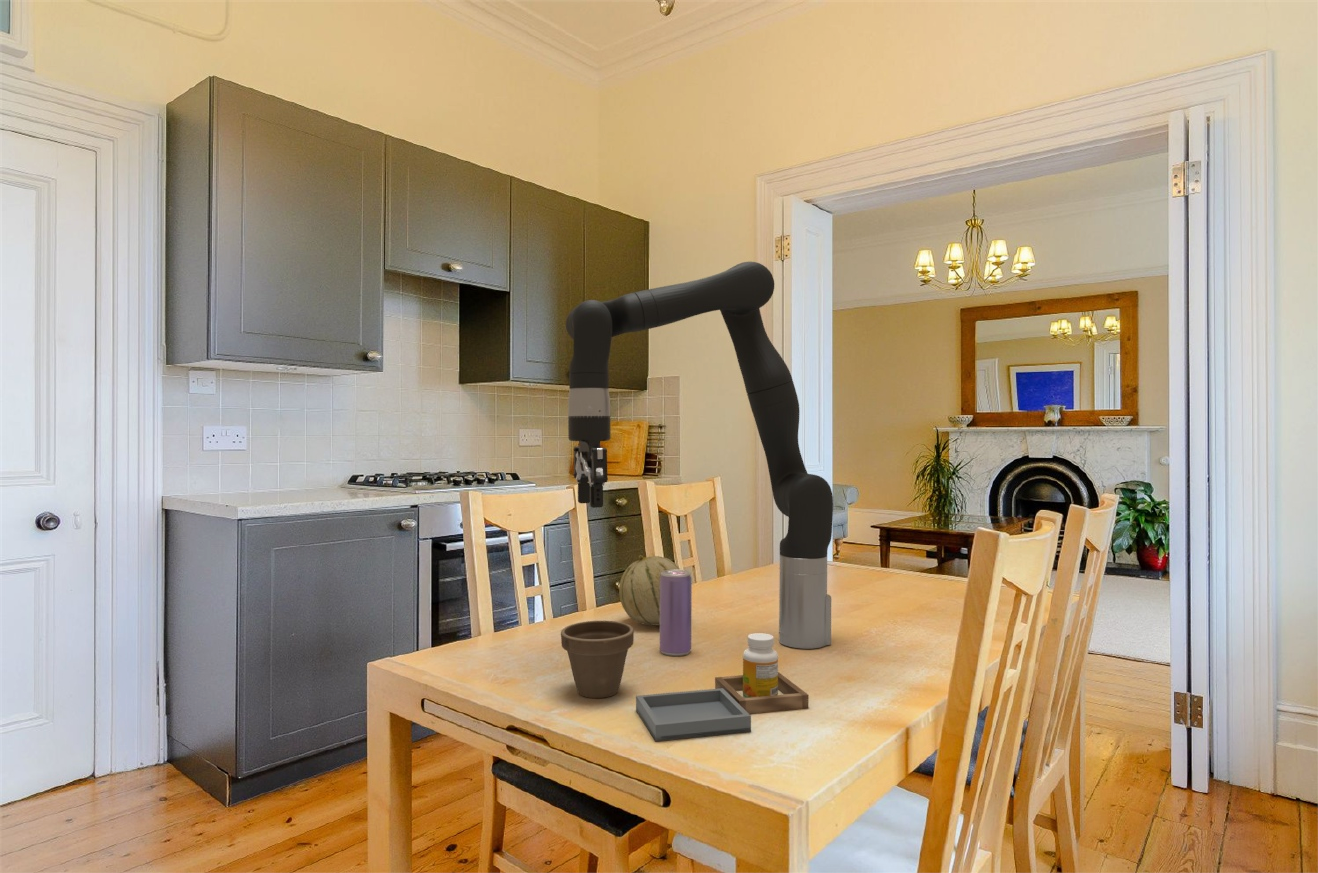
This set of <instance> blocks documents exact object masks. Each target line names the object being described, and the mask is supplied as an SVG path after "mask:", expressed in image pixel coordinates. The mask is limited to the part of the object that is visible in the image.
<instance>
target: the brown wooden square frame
mask: <svg viewBox="0 0 1318 873" xmlns="http://www.w3.org/2000/svg"><path fill="white" fill-rule="evenodd" d="M720 688H723V689H724V690H725V691H726V692H727V693H728V694H729V695H730V696H731V697H732V698H733V699H734V700H735V701H736V702H737V703H738V704H739V705H740V706H741V707H743V708H744V709H745V710H746V711H747V712H748V713H749V714H750V715H751V714H759V713H760V714H761V713H770V712H781V711H782V712H783V711H792V710H793V711H794V710H801V709H802V710H803V709H809V703H810V702H809V697H810V696H809V694H808V693H807V692H806V691H804V690H803V689H801V688H800V687H799V686H798V685H796V684H795V683H794V682H792V681H791V680H790V679H789V678H788V677H786V676H784V675H783V674H782V673H781V672H779V671H778V691H780V692H781V693H782V694H778V695H773V696H762V697H751V698H743V695H742V694H740V693H739V692H738V691H743V674H740V675H731V676H730V675H728V676H718V677H717V676H716V677H714V689H720Z"/></svg>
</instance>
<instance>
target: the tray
mask: <svg viewBox="0 0 1318 873" xmlns="http://www.w3.org/2000/svg"><path fill="white" fill-rule="evenodd" d="M635 711H636V713H637V714H638V716H639V718H640V719H641V721H642V722H643V724H644V726H645V727H646V729H647V730H648V731H649V733H650V735H651V736H652V739H653V740H654V741H655V742H661V741H662V742H663V741H664V742H665V741H673V740H675V741H676V740H683V739H684V740H685V739H693V738H703V737H712V736H722V735H732V734H741V733H742V734H743V733H751V732H752V715H751V714H749V713H748V712H747V711H746V710H745V709H744V708H743V707H741V706H740V705H739V704H738V703H737V702H736V701H735V700H734V699H733V698H732V697H731V696H730V695H729V694H728V693H727V692H726V691H725V690H724V689H723V688H720V689H715V688H710V689H699V690H698V689H696V690H687V691H675V692H674V691H673V692H664V693H651V694H650V693H649V694H641V695H636V696H635Z"/></svg>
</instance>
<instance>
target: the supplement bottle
mask: <svg viewBox="0 0 1318 873" xmlns="http://www.w3.org/2000/svg"><path fill="white" fill-rule="evenodd" d="M774 644H775V642H774V636H773V635H772V634H768V633H765V632H763V633H762V632H758V633H757V632H756V633H755V632H754V633H750V634H749V635H747V646H748V648H746V649H745V650H744V651H743V655H742V675H743V690H742V697H743V698H751V697H762V696H773V695H779V689H778V672H779V655H778V652H777V651H776V650H775V649H773V647H774Z"/></svg>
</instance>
